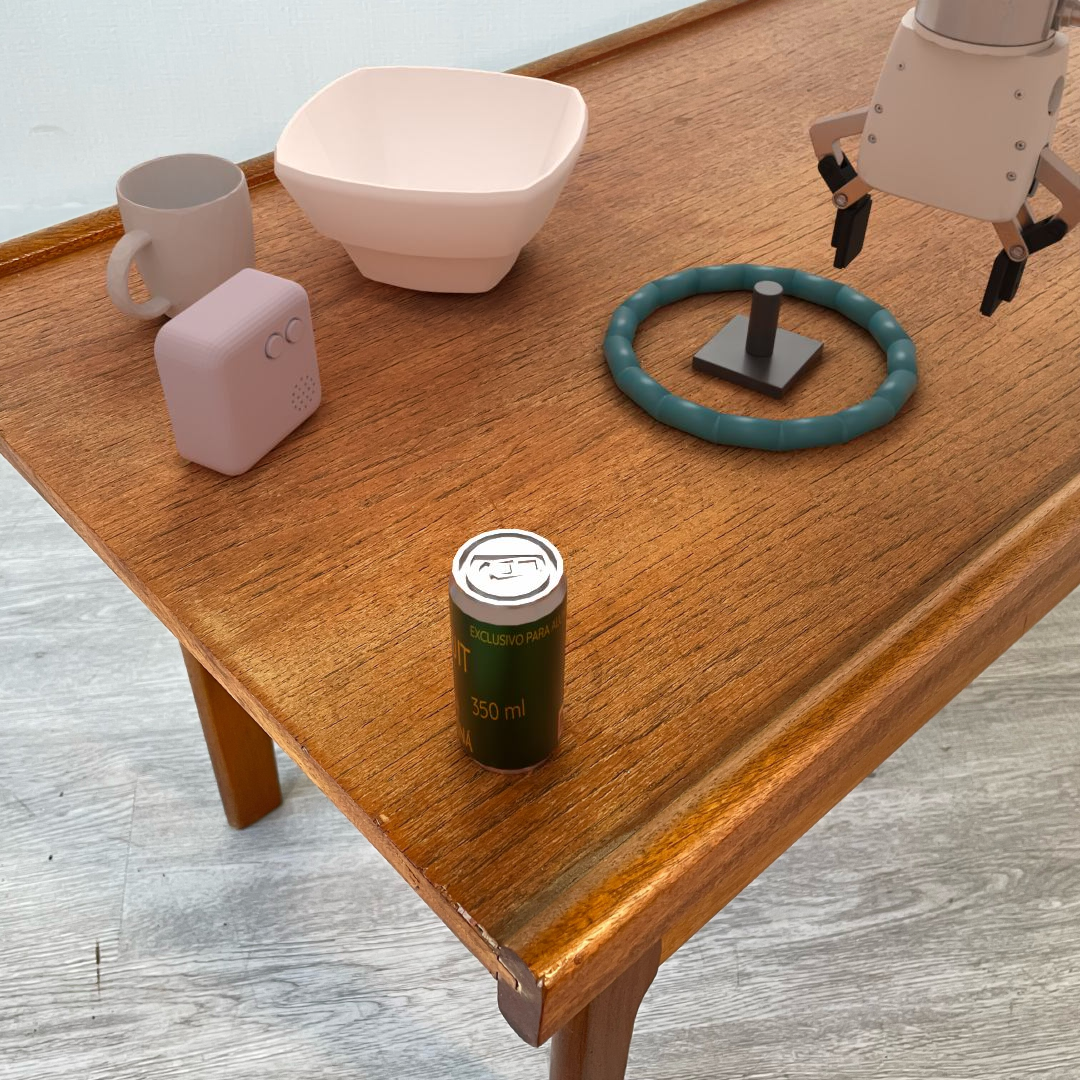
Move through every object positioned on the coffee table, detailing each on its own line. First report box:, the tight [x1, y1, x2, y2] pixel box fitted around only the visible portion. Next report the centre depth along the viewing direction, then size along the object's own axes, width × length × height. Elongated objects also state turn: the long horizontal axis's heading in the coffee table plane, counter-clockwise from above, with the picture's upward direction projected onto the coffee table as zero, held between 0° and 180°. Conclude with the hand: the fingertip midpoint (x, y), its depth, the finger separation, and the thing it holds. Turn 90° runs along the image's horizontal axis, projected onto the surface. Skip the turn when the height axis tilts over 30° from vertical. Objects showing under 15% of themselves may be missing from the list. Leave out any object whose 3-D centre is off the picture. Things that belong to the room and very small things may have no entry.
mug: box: [105, 152, 256, 321], centre depth 87 cm, size 13×9×10 cm
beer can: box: [447, 528, 568, 775], centre depth 57 cm, size 5×5×12 cm
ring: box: [602, 262, 918, 452], centre depth 86 cm, size 22×22×2 cm
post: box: [691, 281, 825, 401], centre depth 85 cm, size 7×7×6 cm
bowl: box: [273, 65, 589, 294], centre depth 93 cm, size 22×22×12 cm
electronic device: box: [153, 268, 322, 477], centre depth 76 cm, size 10×5×10 cm, turn 152°
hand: (917, 282), depth 77 cm, fingers open, 9 cm apart
